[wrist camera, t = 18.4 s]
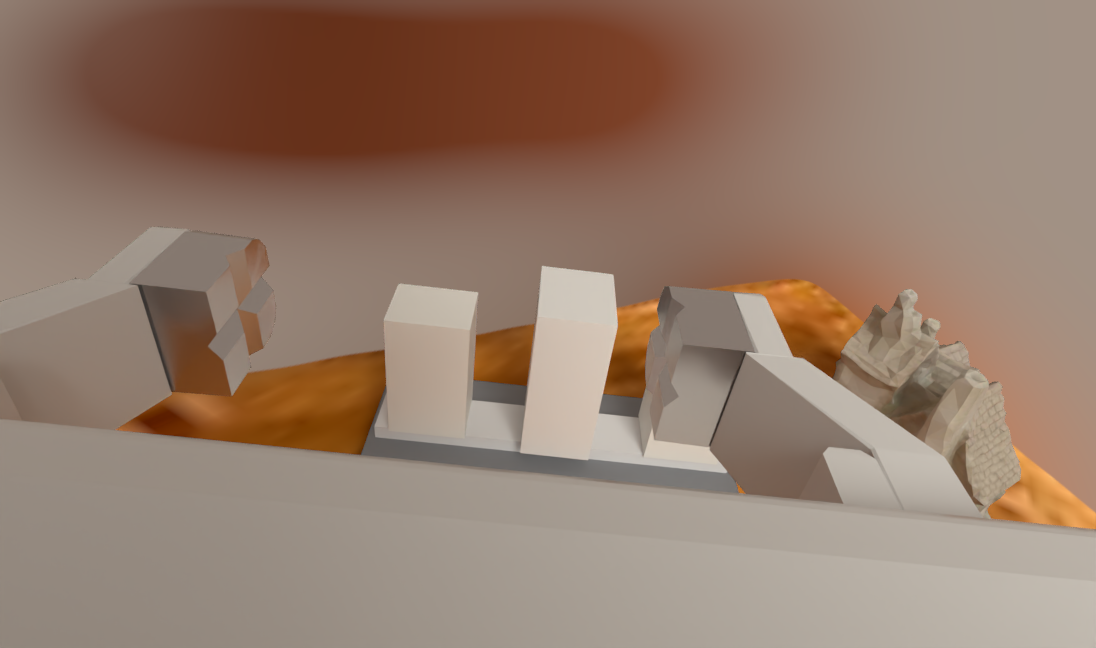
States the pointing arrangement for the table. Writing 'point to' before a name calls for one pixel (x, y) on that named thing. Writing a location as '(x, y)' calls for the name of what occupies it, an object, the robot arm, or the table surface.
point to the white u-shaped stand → (503, 408)
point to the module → (568, 362)
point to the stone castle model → (933, 396)
